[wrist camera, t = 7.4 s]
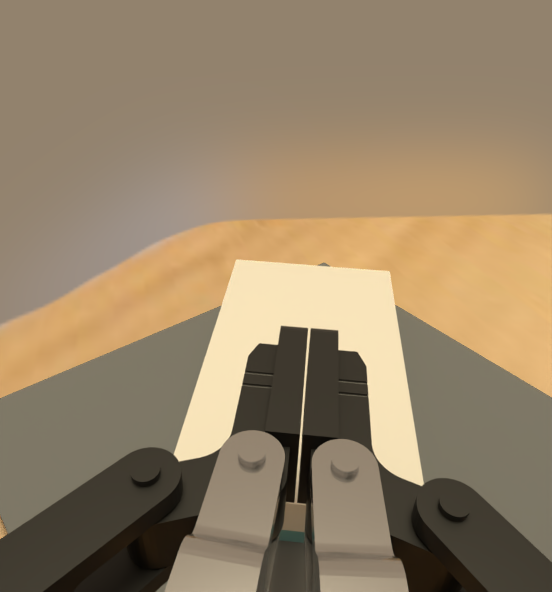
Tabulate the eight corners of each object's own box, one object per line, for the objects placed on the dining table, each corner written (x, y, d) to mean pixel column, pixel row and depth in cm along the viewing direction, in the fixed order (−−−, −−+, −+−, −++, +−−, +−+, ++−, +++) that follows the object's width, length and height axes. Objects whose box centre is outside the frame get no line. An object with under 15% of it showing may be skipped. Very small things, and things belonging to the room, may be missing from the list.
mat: (323, 270, 32) (324, 262, 31) (641, 464, 20) (647, 454, 20) (-37, 426, 21) (-42, 415, 20) (213, 1025, 9) (211, 1024, 9)
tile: (168, 527, 17) (236, 291, 28) (417, 555, 16) (383, 303, 28) (162, 490, 16) (236, 259, 27) (429, 518, 15) (389, 271, 27)
